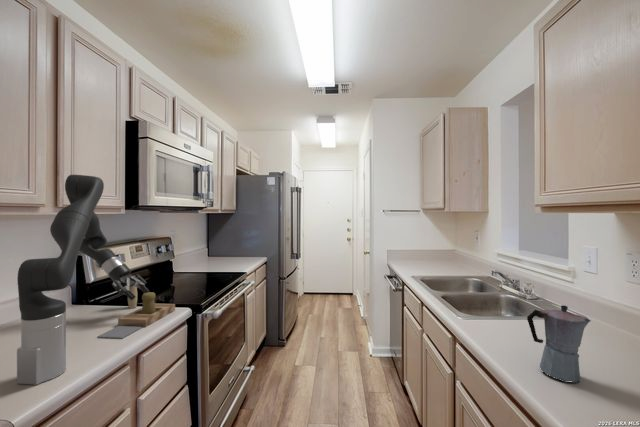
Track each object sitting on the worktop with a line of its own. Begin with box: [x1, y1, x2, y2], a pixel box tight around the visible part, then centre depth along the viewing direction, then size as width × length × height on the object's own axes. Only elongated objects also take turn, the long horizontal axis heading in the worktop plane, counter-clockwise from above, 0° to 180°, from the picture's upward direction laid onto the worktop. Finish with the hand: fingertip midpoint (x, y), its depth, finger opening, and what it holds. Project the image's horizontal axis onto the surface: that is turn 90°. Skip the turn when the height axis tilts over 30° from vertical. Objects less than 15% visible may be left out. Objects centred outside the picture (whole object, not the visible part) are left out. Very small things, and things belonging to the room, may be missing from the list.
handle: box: [127, 282, 138, 309], centre depth 140 cm, size 5×6×15 cm
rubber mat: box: [96, 325, 143, 340], centre depth 111 cm, size 10×10×1 cm
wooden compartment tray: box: [117, 302, 176, 328], centre depth 127 cm, size 20×12×3 cm, turn 175°
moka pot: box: [526, 305, 592, 382], centre depth 82 cm, size 10×15×20 cm, turn 81°
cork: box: [141, 291, 156, 314], centre depth 127 cm, size 6×6×11 cm
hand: (140, 295), depth 127 cm, fingers open, 8 cm apart
